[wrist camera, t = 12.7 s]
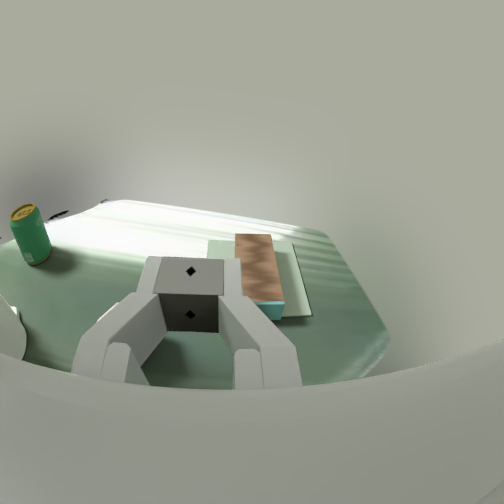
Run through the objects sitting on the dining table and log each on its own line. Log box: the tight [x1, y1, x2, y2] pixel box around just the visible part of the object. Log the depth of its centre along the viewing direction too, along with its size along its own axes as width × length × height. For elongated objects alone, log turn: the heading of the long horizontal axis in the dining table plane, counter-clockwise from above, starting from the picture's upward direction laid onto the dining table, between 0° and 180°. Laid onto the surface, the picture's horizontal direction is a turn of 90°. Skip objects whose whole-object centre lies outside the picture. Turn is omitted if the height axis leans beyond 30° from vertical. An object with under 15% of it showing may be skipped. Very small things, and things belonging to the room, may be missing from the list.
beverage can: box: [10, 203, 51, 265], centre depth 47 cm, size 8×8×12 cm
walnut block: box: [235, 234, 285, 320], centre depth 50 cm, size 7×4×18 cm
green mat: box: [207, 240, 311, 317], centre depth 53 cm, size 18×20×1 cm
